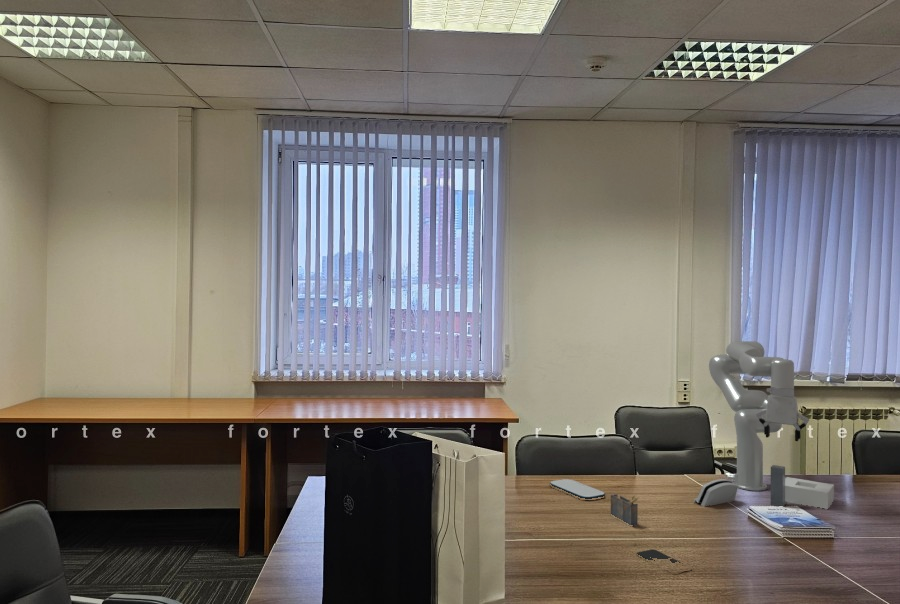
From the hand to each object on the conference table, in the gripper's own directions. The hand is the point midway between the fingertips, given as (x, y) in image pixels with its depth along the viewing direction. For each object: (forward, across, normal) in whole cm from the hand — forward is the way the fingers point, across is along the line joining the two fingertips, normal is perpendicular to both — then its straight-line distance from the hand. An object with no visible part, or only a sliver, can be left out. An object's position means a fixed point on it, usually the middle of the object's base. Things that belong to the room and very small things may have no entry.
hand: (782, 438), depth 224 cm
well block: (+24, +6, +12) cm, 28 cm away
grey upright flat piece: (+25, -38, -54) cm, 71 cm away
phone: (+25, -15, -80) cm, 85 cm away
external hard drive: (+25, -66, -35) cm, 79 cm away
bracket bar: (+24, -1, -1) cm, 24 cm away
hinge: (+25, -19, -13) cm, 34 cm away
